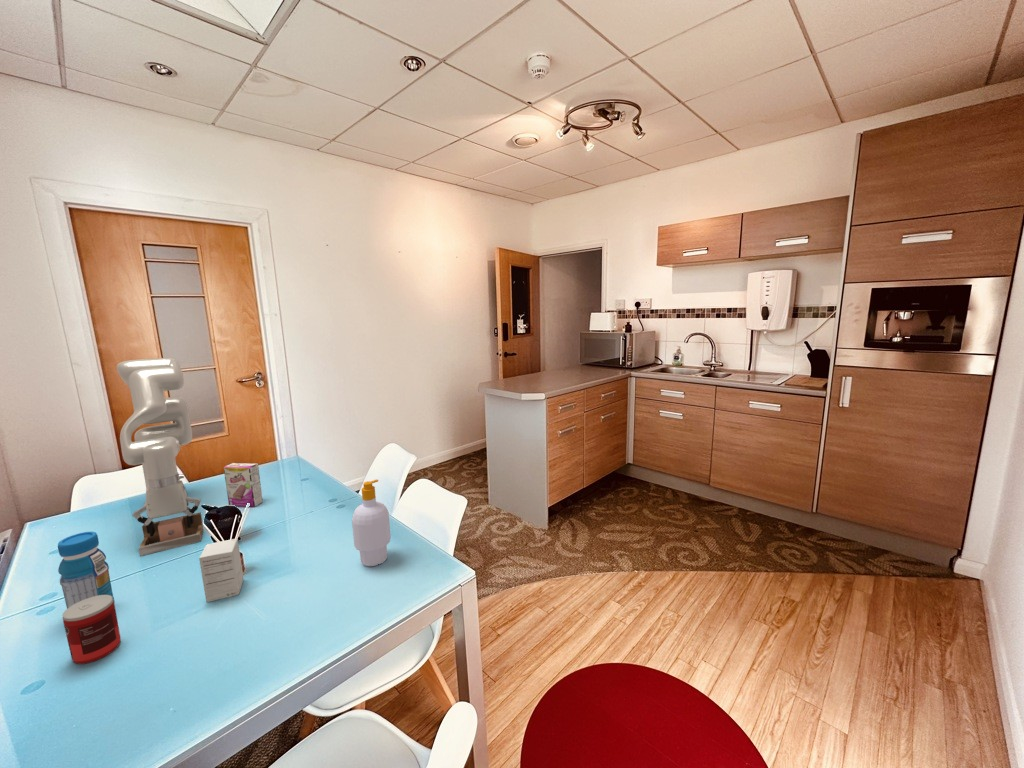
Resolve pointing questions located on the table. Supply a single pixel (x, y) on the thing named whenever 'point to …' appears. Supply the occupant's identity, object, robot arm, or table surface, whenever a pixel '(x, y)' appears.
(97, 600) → the canned food
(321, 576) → the table surface
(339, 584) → the table surface
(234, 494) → the candy bar box
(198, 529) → the board
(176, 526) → the salmon pink block
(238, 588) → the supplement box
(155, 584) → the table surface
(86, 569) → the beverage bottle
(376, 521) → the soap bottle
